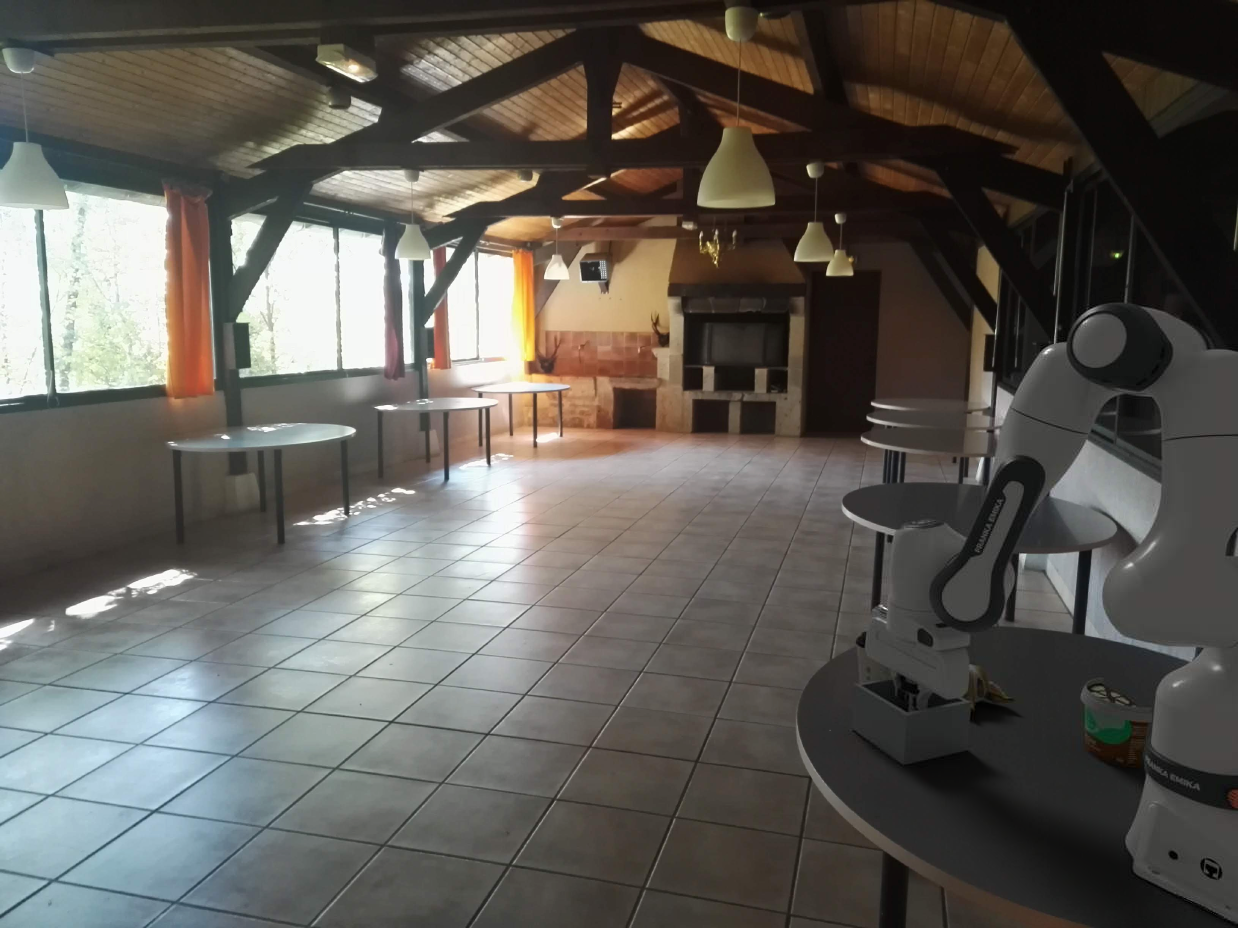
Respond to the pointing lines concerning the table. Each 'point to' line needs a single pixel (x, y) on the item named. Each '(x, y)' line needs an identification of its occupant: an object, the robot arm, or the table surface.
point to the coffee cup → (868, 663)
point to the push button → (909, 691)
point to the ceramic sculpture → (983, 688)
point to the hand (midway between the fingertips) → (910, 702)
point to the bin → (910, 723)
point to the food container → (1114, 725)
